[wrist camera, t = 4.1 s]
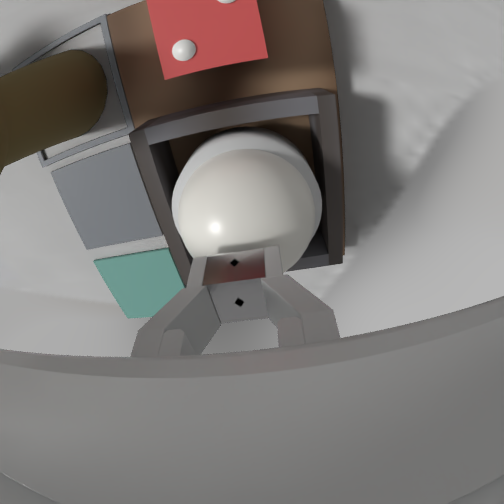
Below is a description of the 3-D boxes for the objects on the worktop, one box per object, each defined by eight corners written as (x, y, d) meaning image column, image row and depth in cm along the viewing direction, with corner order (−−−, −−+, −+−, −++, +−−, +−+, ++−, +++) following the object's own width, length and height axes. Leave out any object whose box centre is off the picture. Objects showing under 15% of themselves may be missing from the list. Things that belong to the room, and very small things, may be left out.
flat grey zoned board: (106, 14, 11) (105, 14, 11) (202, 310, 25) (202, 312, 25) (13, 69, 12) (12, 70, 12) (123, 317, 26) (122, 318, 25)
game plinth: (311, -25, 10) (329, -48, 7) (340, 244, 21) (355, 285, 17) (115, 17, 11) (78, 11, 8) (190, 266, 22) (181, 307, 19)
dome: (304, 115, 13) (335, 152, 8) (315, 231, 17) (337, 307, 12) (168, 140, 14) (125, 190, 9) (202, 247, 18) (186, 325, 13)
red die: (249, -10, 10) (249, -32, 7) (263, 58, 12) (268, 57, 9) (170, 8, 11) (144, -7, 7) (185, 74, 13) (164, 80, 10)
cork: (21, 90, 13) (-104, 153, 4) (81, 31, 11) (-67, 48, 3) (60, 154, 16) (-50, 252, 7) (124, 104, 15) (-7, 181, 6)
